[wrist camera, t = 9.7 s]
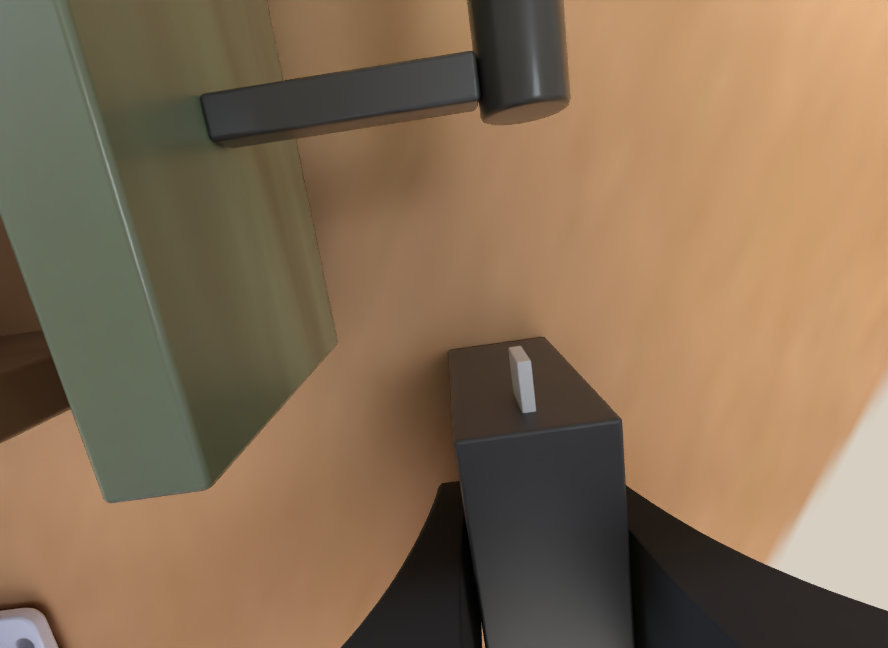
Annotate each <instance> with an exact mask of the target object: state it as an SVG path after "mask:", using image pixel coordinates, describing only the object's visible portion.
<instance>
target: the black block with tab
mask: <svg viewBox="0 0 888 648" xmlns="http://www.w3.org/2000/svg"><path fill="white" fill-rule="evenodd" d="M448 358H449V374H450V390H451V405H452V421H453V437H454V448H455V454H456V460H457V467H458V473H459V480H460V486H461V493H462V499H463V506H464V512H465V519H466V525H467V532H468V538H469V545H470V551H471V558H472V564H473V571H474V577H475V583H476V590H477V596H478V603H479V609H480V616H481V622H482V629H483V635H484V642H485V648H635V639H634V622H633V604H632V587H631V570H630V552H629V535H628V518H627V500H626V483H625V465H624V448H623V431H622V420H621V418H620V417H619V416H618V415H617V414H616V413H615V412H614V411H613V410H612V409H611V407H610V406H609V405H608V404H607V403H606V402H605V401H604V400H603V399H602V398H601V397H600V396H599V395H598V394H597V393H596V391H595V390H594V389H593V388H592V387H591V386H590V385H589V384H588V383H587V382H586V381H585V380H584V379H583V378H582V377H581V375H580V374H579V373H578V372H577V371H576V370H575V369H574V368H573V367H572V366H571V365H570V364H569V363H568V362H567V361H566V360H565V358H564V357H563V356H562V355H561V354H560V353H559V352H558V351H557V350H556V349H555V348H554V347H553V346H552V345H551V344H550V342H549V341H548V340H547V339H546V338H545V337H540V338H533V339H526V340H519V341H512V342H505V343H498V344H491V345H484V346H477V347H470V348H463V349H456V350H450V351H449V352H448Z"/></svg>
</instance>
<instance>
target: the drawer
mask: <svg viewBox="0 0 888 648" xmlns="http://www.w3.org/2000/svg"><path fill="white" fill-rule="evenodd" d="M467 5H468V13H469V22H470V30H471V39H472V47H473V52H472V51H466V52H460V53H454V54H447V55H441V56H435V57H429V58H422V59H416V60H410V61H403V62H397V63H391V64H385V65H378V66H372V67H366V68H359V69H353V70H347V71H341V72H334V73H328V74H322V75H316V76H309V77H303V78H297V79H290V80H284V81H283V77H282V72H281V67H280V62H279V57H278V53H277V48H276V43H275V38H274V33H273V29H272V24H271V19H270V14H269V9H268V5H267V0H0V444H1V443H3V442H5V441H7V440H9V439H11V438H13V437H15V436H17V435H19V434H21V433H23V432H25V431H27V430H29V429H31V428H33V427H35V426H37V425H39V424H41V423H43V422H45V421H47V420H49V419H51V418H53V417H55V416H57V415H59V414H61V413H64V412H66V411H68V410H70V409H71V410H72V413H73V416H74V419H75V421H76V424H77V427H78V430H79V432H80V435H81V438H82V441H83V443H84V446H85V449H86V452H87V454H88V457H89V460H90V463H91V465H92V468H93V471H94V474H95V476H96V479H97V482H98V484H99V487H100V490H101V493H102V495H103V498H104V500H105V501H106V502H108V503H117V502H124V501H131V500H139V499H146V498H153V497H160V496H168V495H175V494H182V493H190V492H197V491H204V490H206V489H208V488H210V487H212V486H213V485H214V484H215V483H216V481H217V480H218V479H219V478H220V477H221V476H222V475H223V473H224V472H225V471H226V470H227V469H228V468H229V467H230V465H231V464H232V463H233V462H234V461H235V460H236V459H237V457H238V456H239V455H240V454H241V453H242V452H243V451H244V449H245V448H246V447H247V446H248V445H249V444H250V443H251V441H252V440H253V439H254V438H255V437H256V436H257V435H258V433H259V432H260V431H261V430H262V429H263V428H264V427H265V426H266V424H267V423H268V422H269V421H270V420H271V419H272V418H273V416H274V415H275V414H276V413H277V412H278V411H279V410H280V408H281V407H282V406H283V405H284V404H285V403H286V402H287V400H288V399H289V398H290V397H291V396H292V395H293V394H294V392H295V391H296V390H297V389H298V388H299V387H300V386H301V384H302V383H303V382H304V381H305V380H306V379H307V378H308V376H309V375H310V374H311V373H312V372H313V371H314V370H315V369H316V367H317V366H318V365H319V364H320V363H321V362H322V361H323V359H324V358H325V357H326V356H327V355H328V354H329V353H330V351H331V350H332V349H333V348H334V347H335V346H336V345H337V342H338V341H337V336H336V331H335V326H334V321H333V317H332V312H331V307H330V302H329V297H328V293H327V288H326V283H325V278H324V273H323V269H322V264H321V259H320V254H319V249H318V245H317V240H316V235H315V230H314V225H313V221H312V216H311V211H310V206H309V201H308V197H307V192H306V187H305V182H304V177H303V173H302V168H301V163H300V158H299V153H298V149H297V144H296V139H297V138H303V137H310V136H316V135H322V134H329V133H335V132H342V131H348V130H354V129H361V128H367V127H374V126H380V125H387V124H393V123H399V122H406V121H412V120H419V119H425V118H431V117H438V116H444V115H451V114H457V113H464V112H470V111H474V110H476V109H477V106H478V103H479V107H480V115H481V118H482V120H483V122H484V123H486V124H491V125H512V124H519V123H525V122H530V121H534V120H538V119H542V118H545V117H548V116H551V115H553V114H556V113H558V112H559V111H561V110H563V109H564V108H566V107H567V106H568V105H569V102H570V99H571V98H570V84H569V71H568V57H567V43H566V30H565V16H564V3H563V0H467Z"/></svg>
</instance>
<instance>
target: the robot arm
mask: <svg viewBox="0 0 888 648" xmlns="http://www.w3.org/2000/svg"><path fill="white" fill-rule="evenodd" d="M626 500H627V518H628V535H629V552H630V570H631V587H632V604H633V622H634V639H635V648H888V611H886V610H883V609H880V608H877V607H874V606H871V605H868V604H865V603H863V602H860V601H857V600H854V599H851V598H848V597H845V596H843V595H840V594H837V593H834V592H831V591H829V590H826V589H824V588H821V587H818V586H816V585H813V584H810V583H808V582H805V581H803V580H801V579H798V578H796V577H793V576H791V575H789V574H786V573H784V572H782V571H779V570H777V569H775V568H772V567H770V566H767V565H765V564H763V563H761V562H759V561H756V560H754V559H752V558H750V557H748V556H746V555H743V554H742V553H740V552H738V551H736V550H734V549H732V548H730V547H728V546H726V545H724V544H722V543H720V542H718V541H716V540H714V539H712V538H710V537H708V536H706V535H704V534H703V533H701V532H699V531H697V530H695V529H694V528H692V527H690V526H689V525H687V524H685V523H683V522H682V521H680V520H678V519H677V518H675V517H673V516H672V515H670V514H668V513H667V512H665V511H664V510H662V509H660V508H659V507H657V506H656V505H654V504H653V503H651V502H650V501H648V500H647V499H645V498H644V497H642V496H641V495H639V494H638V493H636V492H635V491H633V490H632V489H631V488H629V487H628V486H626ZM0 648H59V647H58V645H57V643H56V640H55V638H54V636H53V633H52V631H51V629H50V626H49V624H48V622H47V619H46V617H45V616H44V614H43V613H42V612H40V611H39V610H37V609H34V608H18V609H10V610H3V611H0ZM341 648H482V628H481V616H480V609H479V603H478V596H477V590H476V583H475V577H474V571H473V564H472V558H471V551H470V545H469V538H468V532H467V525H466V519H465V512H464V506H463V499H462V493H461V486H460V481H456V482H448V483H442V484H441V485H440V486H439V488H438V491H437V494H436V497H435V500H434V503H433V505H432V508H431V510H430V513H429V515H428V517H427V519H426V522H425V524H424V526H423V528H422V530H421V532H420V534H419V536H418V538H417V540H416V542H415V544H414V546H413V548H412V549H411V551H410V553H409V555H408V556H407V558H406V560H405V562H404V563H403V565H402V567H401V569H400V570H399V572H398V573H397V575H396V577H395V578H394V580H393V581H392V583H391V584H390V586H389V587H388V589H387V590H386V592H385V593H384V594H383V596H382V597H381V599H380V600H379V601H378V603H377V604H376V605H375V607H374V608H373V609H372V611H371V612H370V613H369V614H368V616H367V617H366V618H365V620H364V621H363V622H362V623H361V625H360V626H359V627H358V628H357V630H356V631H355V632H354V633H353V634H352V636H351V637H350V638H349V639H348V640H347V641H346V643H345V644H344V645H343V646H342V647H341Z"/></svg>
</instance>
